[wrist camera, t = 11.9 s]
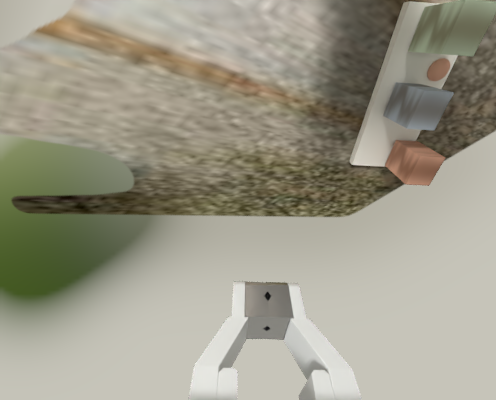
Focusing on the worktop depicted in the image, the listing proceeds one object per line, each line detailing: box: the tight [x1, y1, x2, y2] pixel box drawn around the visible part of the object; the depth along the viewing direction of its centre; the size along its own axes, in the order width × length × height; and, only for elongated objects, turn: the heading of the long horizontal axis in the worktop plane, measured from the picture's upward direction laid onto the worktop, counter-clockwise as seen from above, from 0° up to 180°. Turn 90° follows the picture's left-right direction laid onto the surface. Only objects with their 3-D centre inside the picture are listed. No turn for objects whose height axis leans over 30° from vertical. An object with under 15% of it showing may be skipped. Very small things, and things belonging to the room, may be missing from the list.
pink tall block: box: [385, 140, 445, 186], centre depth 39 cm, size 5×4×7 cm
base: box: [349, 1, 458, 167], centre depth 38 cm, size 24×10×2 cm, turn 177°
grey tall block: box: [383, 82, 454, 130], centre depth 34 cm, size 5×4×7 cm
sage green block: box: [408, 0, 496, 56], centre depth 29 cm, size 5×4×7 cm
